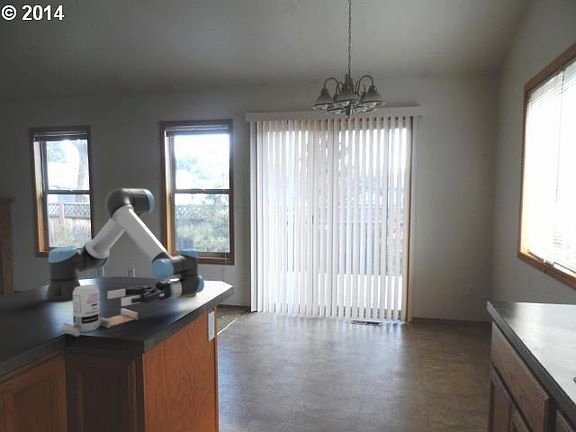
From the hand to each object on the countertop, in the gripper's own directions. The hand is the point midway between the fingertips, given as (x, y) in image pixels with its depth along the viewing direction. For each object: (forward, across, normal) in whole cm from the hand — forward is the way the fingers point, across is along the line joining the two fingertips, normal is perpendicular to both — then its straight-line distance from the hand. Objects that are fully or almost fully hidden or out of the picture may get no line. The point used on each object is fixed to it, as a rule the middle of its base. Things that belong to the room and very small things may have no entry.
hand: (114, 298), depth 145 cm
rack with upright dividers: (+4, +1, -9) cm, 10 cm away
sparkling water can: (+10, 0, -9) cm, 13 cm away
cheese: (-43, +26, -9) cm, 51 cm away
